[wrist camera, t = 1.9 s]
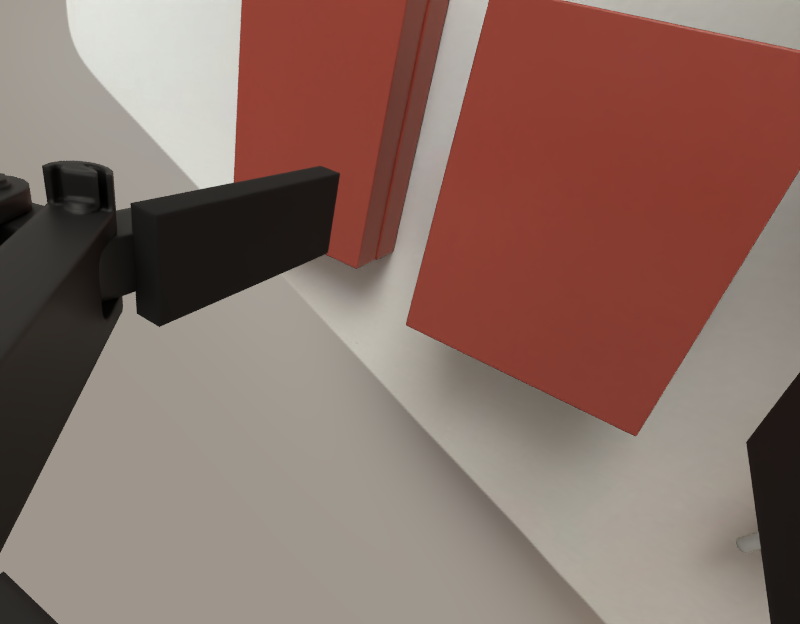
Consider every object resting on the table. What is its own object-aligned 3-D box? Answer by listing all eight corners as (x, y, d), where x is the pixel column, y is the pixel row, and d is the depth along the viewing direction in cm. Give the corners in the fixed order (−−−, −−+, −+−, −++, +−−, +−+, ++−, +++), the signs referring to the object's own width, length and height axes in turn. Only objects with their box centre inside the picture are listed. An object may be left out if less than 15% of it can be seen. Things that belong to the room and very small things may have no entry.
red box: (296, -45, 28) (242, -62, 24) (451, -11, 24) (413, -25, 21) (274, 199, 35) (230, 211, 31) (393, 251, 31) (358, 270, 28)
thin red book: (510, -6, 19) (492, -15, 17) (848, 66, 15) (865, 64, 14) (423, 310, 26) (405, 325, 24) (640, 412, 22) (636, 437, 21)
